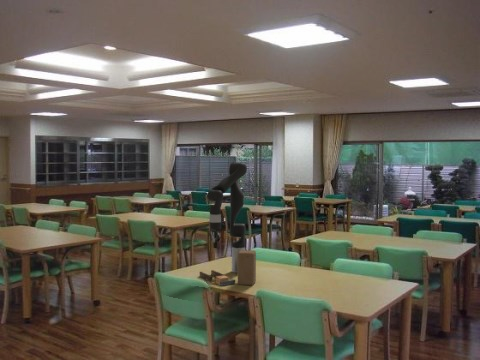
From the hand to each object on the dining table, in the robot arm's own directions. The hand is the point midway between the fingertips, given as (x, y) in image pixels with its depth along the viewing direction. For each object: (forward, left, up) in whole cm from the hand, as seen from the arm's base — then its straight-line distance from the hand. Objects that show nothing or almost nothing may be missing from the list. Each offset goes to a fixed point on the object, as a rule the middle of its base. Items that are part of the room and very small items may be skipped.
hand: (215, 247), depth 307 cm
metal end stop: (0, +16, -20) cm, 26 cm away
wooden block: (-12, +19, -21) cm, 31 cm away
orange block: (+1, +10, -21) cm, 23 cm away
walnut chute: (0, -5, -20) cm, 21 cm away
